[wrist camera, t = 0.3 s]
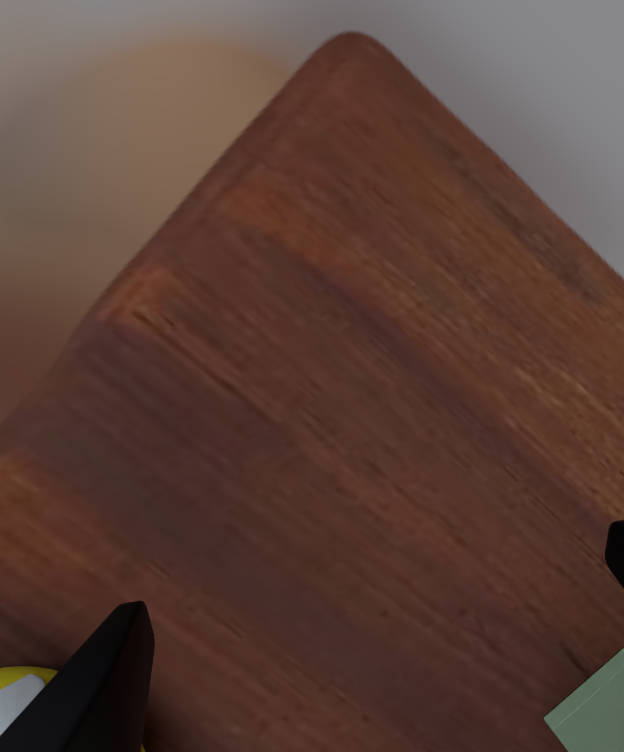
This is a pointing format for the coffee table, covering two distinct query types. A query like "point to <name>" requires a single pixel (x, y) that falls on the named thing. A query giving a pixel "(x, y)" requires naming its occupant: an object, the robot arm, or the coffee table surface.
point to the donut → (21, 690)
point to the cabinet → (593, 712)
